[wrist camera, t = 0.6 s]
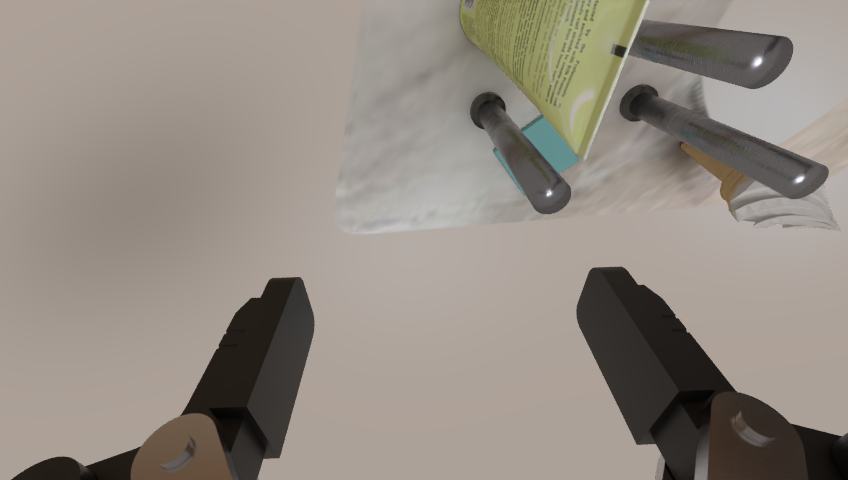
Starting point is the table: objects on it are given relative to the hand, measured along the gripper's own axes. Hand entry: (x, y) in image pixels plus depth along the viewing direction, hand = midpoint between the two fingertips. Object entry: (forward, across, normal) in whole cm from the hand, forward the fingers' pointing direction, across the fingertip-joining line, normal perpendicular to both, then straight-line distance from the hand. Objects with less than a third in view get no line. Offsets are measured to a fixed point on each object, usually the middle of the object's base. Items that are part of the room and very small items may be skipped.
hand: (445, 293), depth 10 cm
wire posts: (+25, -12, +2) cm, 28 cm away
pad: (+24, -11, +6) cm, 28 cm away
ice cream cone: (+25, -25, +6) cm, 36 cm away
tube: (+25, -5, -5) cm, 26 cm away
